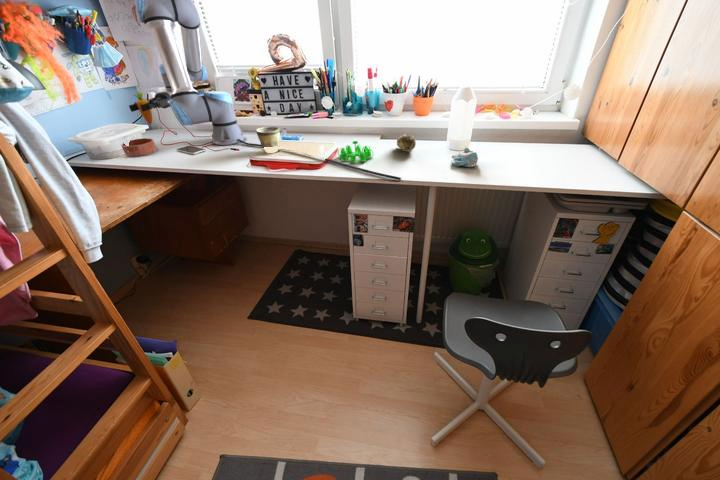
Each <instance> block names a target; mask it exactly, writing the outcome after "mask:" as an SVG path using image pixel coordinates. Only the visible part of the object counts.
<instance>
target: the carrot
mask: <svg viewBox="0 0 720 480" xmlns="http://www.w3.org/2000/svg"><path fill="white" fill-rule="evenodd" d="M133 96H134V97H136V98H137V99H138V100H136V101H135V102H136V103H137V106H138V108H139V110H138V111H139V113H140V115H141V116H142V118H143V119H144V120H145V121H146V122H147V124H149V125H150V126H151V125H152V124H153V112H152V109H150V110H147V111H142V109H141V106H140V105H143V104H146V103H149V102H148V101H147V100H148V99H147V100H145V99H146V98H143V92H141V91H140V90H138V91H137V93H134V94H133Z"/></svg>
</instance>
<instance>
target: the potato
mask: <svg viewBox="0 0 720 480" xmlns="http://www.w3.org/2000/svg"><path fill="white" fill-rule="evenodd" d="M416 145H417V144H416V139H415V137H414V136H413V135H411V134H403V135H401V136H400V137H398V138H397V140H396V146H397V147H398V148H399V149H400V150H402V151H403V152H410V151H412V150H414V149H415V148H416Z"/></svg>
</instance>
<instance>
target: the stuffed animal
mask: <svg viewBox="0 0 720 480" xmlns="http://www.w3.org/2000/svg"><path fill="white" fill-rule="evenodd" d="M450 161H451V164H452V165H453V166H455V167H462V166H463V167H465V168H473V167H475V166H476V165H477V164H478V161H479V157H478V153H477V152H475V151H474V150H470V148H469V147H467V146H465V147H464V150H463V151H462V153H461V152H458V153H457V154H455V155H454V154H453V155H452V156H451V159H450Z"/></svg>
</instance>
